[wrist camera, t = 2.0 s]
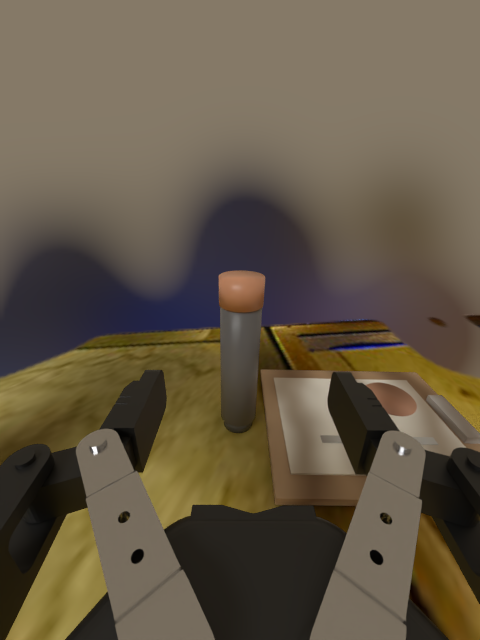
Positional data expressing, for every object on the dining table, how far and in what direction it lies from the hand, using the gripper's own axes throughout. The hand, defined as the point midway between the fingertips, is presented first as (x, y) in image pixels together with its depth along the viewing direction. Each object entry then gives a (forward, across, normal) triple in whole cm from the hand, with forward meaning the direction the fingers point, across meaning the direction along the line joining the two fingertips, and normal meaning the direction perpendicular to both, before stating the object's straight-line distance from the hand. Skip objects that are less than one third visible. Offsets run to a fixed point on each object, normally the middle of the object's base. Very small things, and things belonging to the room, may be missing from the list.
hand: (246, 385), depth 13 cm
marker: (+12, 0, +14) cm, 18 cm away
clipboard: (+12, -13, +14) cm, 22 cm away
